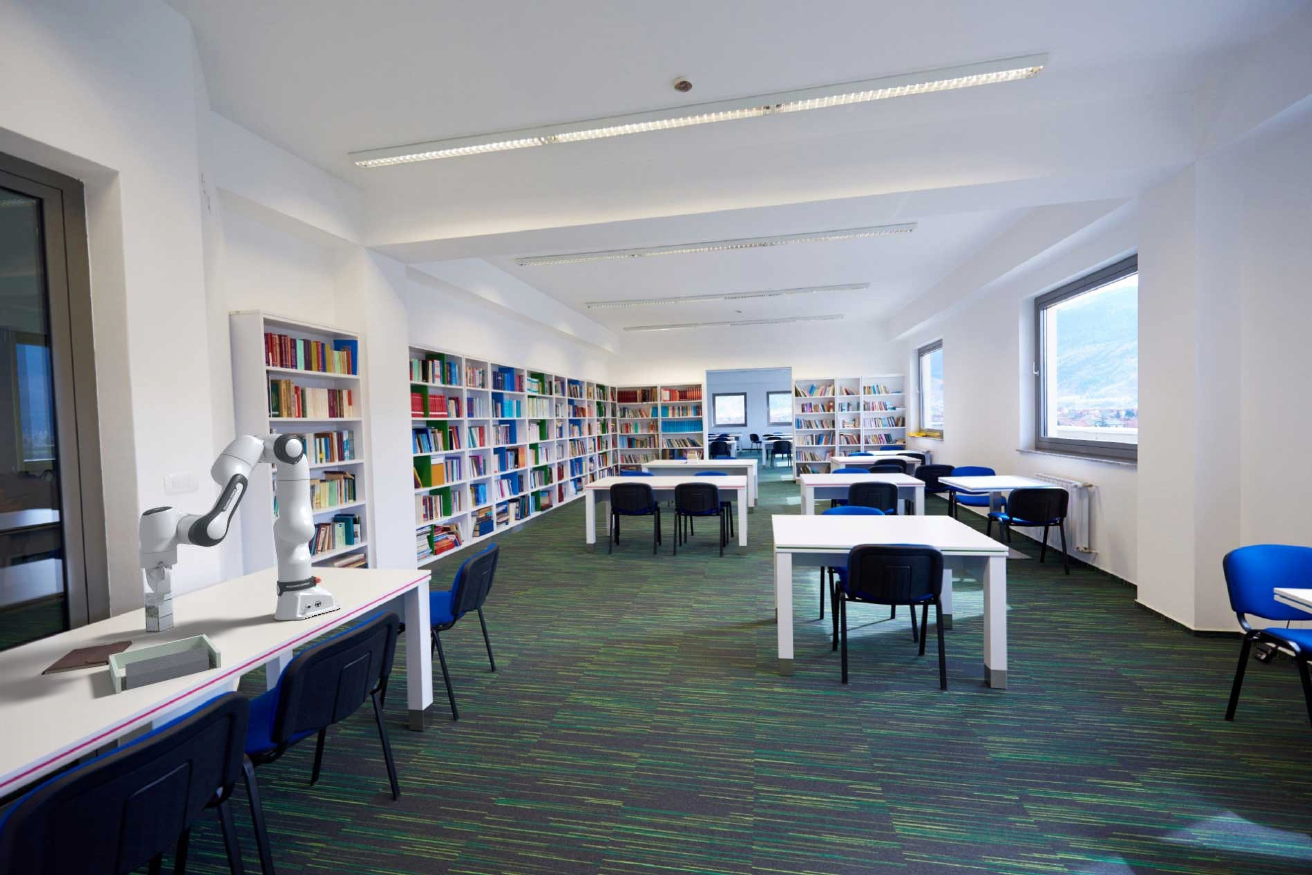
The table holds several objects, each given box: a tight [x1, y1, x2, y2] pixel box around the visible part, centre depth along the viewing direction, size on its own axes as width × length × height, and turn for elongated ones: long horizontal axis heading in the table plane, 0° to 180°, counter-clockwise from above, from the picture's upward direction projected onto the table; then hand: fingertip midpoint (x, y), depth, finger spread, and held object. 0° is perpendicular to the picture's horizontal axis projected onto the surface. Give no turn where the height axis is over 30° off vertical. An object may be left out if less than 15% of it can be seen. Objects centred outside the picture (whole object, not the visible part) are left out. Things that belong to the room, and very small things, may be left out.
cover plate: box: [124, 647, 210, 691], centre depth 167 cm, size 18×13×4 cm
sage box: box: [108, 633, 222, 695], centre depth 171 cm, size 23×24×4 cm
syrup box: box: [144, 588, 175, 633], centre depth 207 cm, size 6×6×14 cm
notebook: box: [41, 639, 133, 676], centre depth 180 cm, size 15×20×2 cm
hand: (159, 604), depth 176 cm, fingers closed
